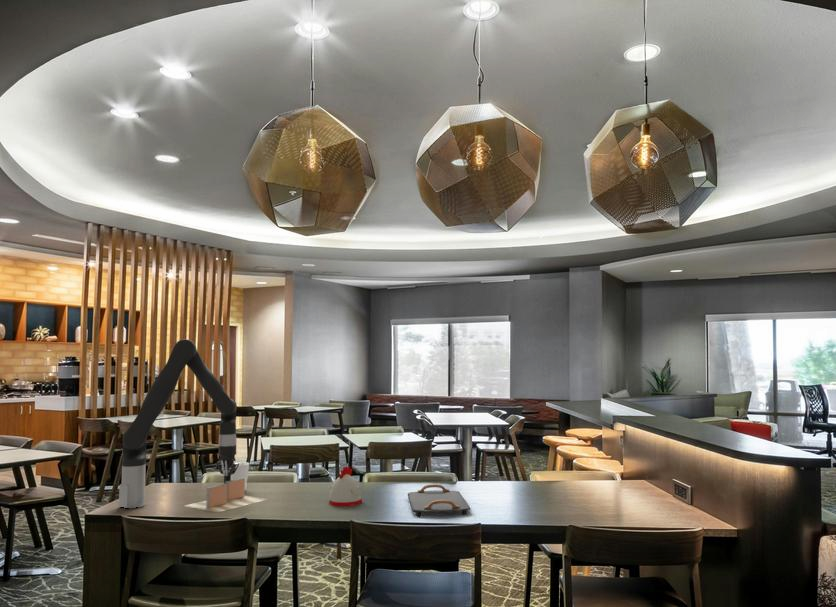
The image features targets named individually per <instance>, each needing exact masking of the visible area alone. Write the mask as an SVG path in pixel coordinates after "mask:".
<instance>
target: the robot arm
mask: <svg viewBox="0 0 836 607" xmlns="http://www.w3.org/2000/svg"><path fill="white" fill-rule="evenodd" d="M186 366H187V367H188V368H189V369H190V371H191V372H192V373H193V374H194V376H195V377H196V379H197V381H198V382H199V384H200V385H201V387H202V388H203V390H204V391H205V392H206V394H207V395H208V396H209V398H211V400H212V402H213V403H214V405H215V407H216V408H217V410H218V411H219V413H220V422H219V434H218V456H219V461H216V462H215V464H216V466H217V468H218V471H219V473H220V474H221V475H223V484H226V481H230V480H231V475H232V474H234V473H235V471H236V470H237V468H238V466H239V463H237V462H236V458H235V456H236V455H237V425H236V424H237V423H236V420H237V412H238V411H237V409H238V408H237V403H236V401H235V400H234V399H232V398H231V397H230V396H229V395H228V394H227V392H226V390H225V388H224V386H223V385H222V384H221V382H220V381H219V380H218V378H217V377H216V376H215V374H214V373H213V372H212V371H211V370H210V368H208V366H207V365H206V364H205V362H204V360H203V359H202V358H201V356H200V353H199V352H198V350H197V346H196V345H195V343H194V342H193V341H192V340H190V339H187V338H184V339H179V340H178V341H177V342H176V343H175V344H174V345H173V348H172V350H171V353H170V355H169V357H168V360H166V364H165V365H164V367H163V368H162V369H161V371H160V372H159V374H158V375H157V377H156V378H155V380H154V381H153V383H152V385H151V386H150V388H149V390H148V392H147V394H146V395H145V397H144V400H143V402H142V404H141V407H140V409H139V412H138V414H137V415H136V416H135V418H134V420H133V422H132V423H131V424H130V425H129V427H128V428H127V429H126V430H125V431H124V433H123V435H122V439H121V440H122V456H121V458H122V459H121V483H120V484H119V486H118V487H119V488H118V489H119V492H118V507H119V506H120V507H124V508H123V509H125V508H129V509H137V508H136V507H138V508H141V507H145V505H146V470H147V469H146V466H147V464H146V462H147V439H148V437H149V436H148V435H149V432H150V431H151V429H152V426H153V425H154V423H155V421H156V420H157V418H158V417H159V416H160V415H161V413H162V411H163V410H164V409H165V407H166V406H167V405H168V403H169V401H170V399H171V397H172V395H173V393H174V391H175V389H176V386H177V385H178V381H179V379H180V376H181V374H182V372H183V370H184V368H185V367H186ZM120 507H119V508H120Z"/></svg>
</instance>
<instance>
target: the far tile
mask: <svg viewBox="0 0 836 607" xmlns="http://www.w3.org/2000/svg"><path fill="white" fill-rule="evenodd" d="M226 484H227V501H229V500H234V499H238V498H242V497H244V495H245V492H246V490H245V478H240V479H235V480H230V481H226Z"/></svg>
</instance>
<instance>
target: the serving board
mask: <svg viewBox="0 0 836 607" xmlns="http://www.w3.org/2000/svg"><path fill="white" fill-rule="evenodd" d="M429 488H439V489H442V490H439V489H438V490H434V489H433V490H426V489H429ZM407 497H408V502H409V503H410V507H411V510H412V511H411V512H414V513H415V512H416V513H415V516H416V517H421V516H422V513H430V514H431V513H432V514H433V513H436V514H437V513H441V514H443V513H456V512H461V514H462V515H463V516H465V515H468V511H470V510H471V506H470V505H469V504H468V502H467V500H466V499H465V498H464V497H463V495H462V494H461V492H460V491H458V490H450V489H448V488H446V487H445V486H443V485H442V484H437V483H436V484H435V483H433V484H431V483H430V484H427V485H426V484H425V485H424V486H423V487H421V489H417V491H410V492H407Z"/></svg>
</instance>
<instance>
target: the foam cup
mask: <svg viewBox="0 0 836 607" xmlns="http://www.w3.org/2000/svg"><path fill="white" fill-rule="evenodd" d="M236 463H239V466H238V468H237V470H236V471H235V473H234V474H232V475H231V480H235V479H240V478H245V491H246V490H247V485H248V484H247V482H248V475H249V469H250V462H247V461H246V462H244V461H239V462H236Z"/></svg>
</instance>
